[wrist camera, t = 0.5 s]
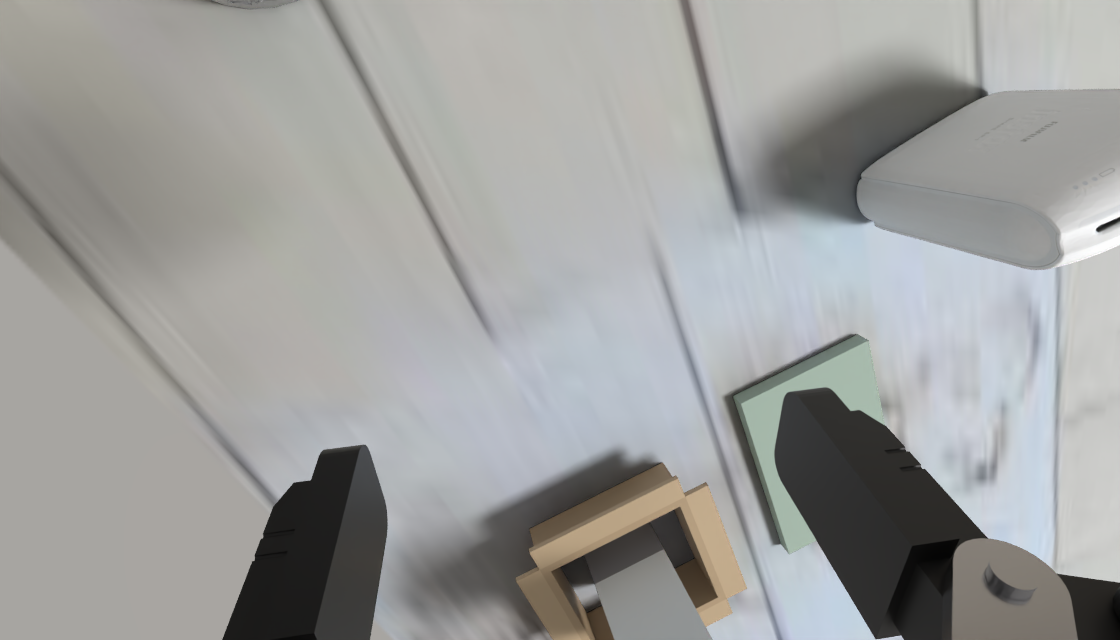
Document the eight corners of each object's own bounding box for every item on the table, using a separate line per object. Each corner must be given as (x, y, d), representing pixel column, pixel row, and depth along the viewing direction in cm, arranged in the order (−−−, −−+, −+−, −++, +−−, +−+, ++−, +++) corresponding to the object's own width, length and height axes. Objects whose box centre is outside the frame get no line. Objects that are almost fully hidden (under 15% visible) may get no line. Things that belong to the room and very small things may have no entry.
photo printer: (999, 78, 33) (1299, 70, 22) (1009, 147, 35) (1292, 172, 23) (844, 171, 33) (1065, 211, 22) (862, 235, 35) (1076, 302, 23)
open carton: (498, 523, 36) (505, 564, 33) (676, 434, 37) (700, 466, 34) (571, 643, 41) (584, 689, 38) (727, 564, 42) (752, 602, 39)
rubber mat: (733, 396, 37) (741, 403, 36) (857, 334, 37) (868, 340, 36) (781, 544, 42) (789, 554, 42) (888, 489, 43) (898, 498, 42)
